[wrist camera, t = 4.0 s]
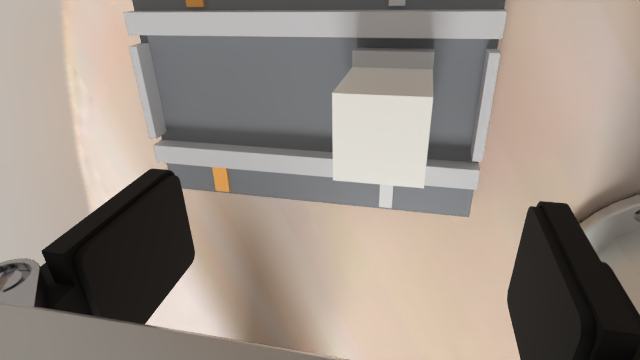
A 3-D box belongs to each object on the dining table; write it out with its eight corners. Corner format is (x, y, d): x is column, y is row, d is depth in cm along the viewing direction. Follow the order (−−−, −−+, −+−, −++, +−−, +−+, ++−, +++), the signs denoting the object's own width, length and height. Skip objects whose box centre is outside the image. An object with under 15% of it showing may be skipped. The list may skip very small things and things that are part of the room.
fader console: (506, -48, 20) (518, -50, 17) (466, 200, 27) (470, 228, 24) (146, -36, 24) (110, -37, 22) (186, 174, 31) (162, 195, 28)
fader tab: (434, 48, 21) (435, 76, 16) (424, 151, 23) (422, 204, 18) (355, 47, 22) (331, 73, 16) (354, 146, 24) (333, 195, 19)
